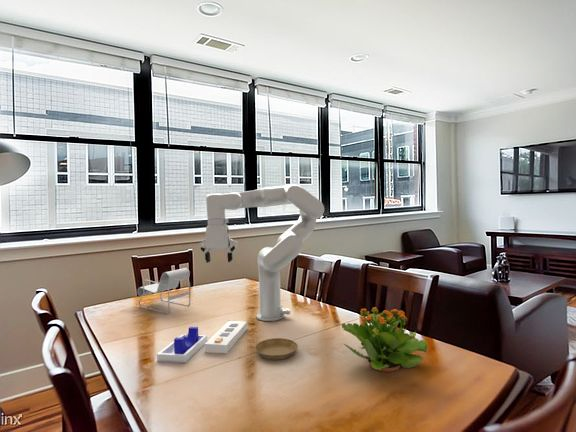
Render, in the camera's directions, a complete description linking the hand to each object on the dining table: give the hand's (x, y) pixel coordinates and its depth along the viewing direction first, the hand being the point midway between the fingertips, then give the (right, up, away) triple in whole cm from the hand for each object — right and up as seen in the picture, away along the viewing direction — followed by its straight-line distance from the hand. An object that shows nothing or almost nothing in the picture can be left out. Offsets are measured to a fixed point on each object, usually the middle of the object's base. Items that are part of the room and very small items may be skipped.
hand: (219, 261), depth 156 cm
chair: (-33, -27, +27) cm, 51 cm away
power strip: (+7, -27, -19) cm, 34 cm away
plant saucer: (+26, -28, -31) cm, 49 cm away
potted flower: (+59, -27, -43) cm, 78 cm away
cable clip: (-7, -28, -28) cm, 40 cm away
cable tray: (-7, -28, -28) cm, 40 cm away
